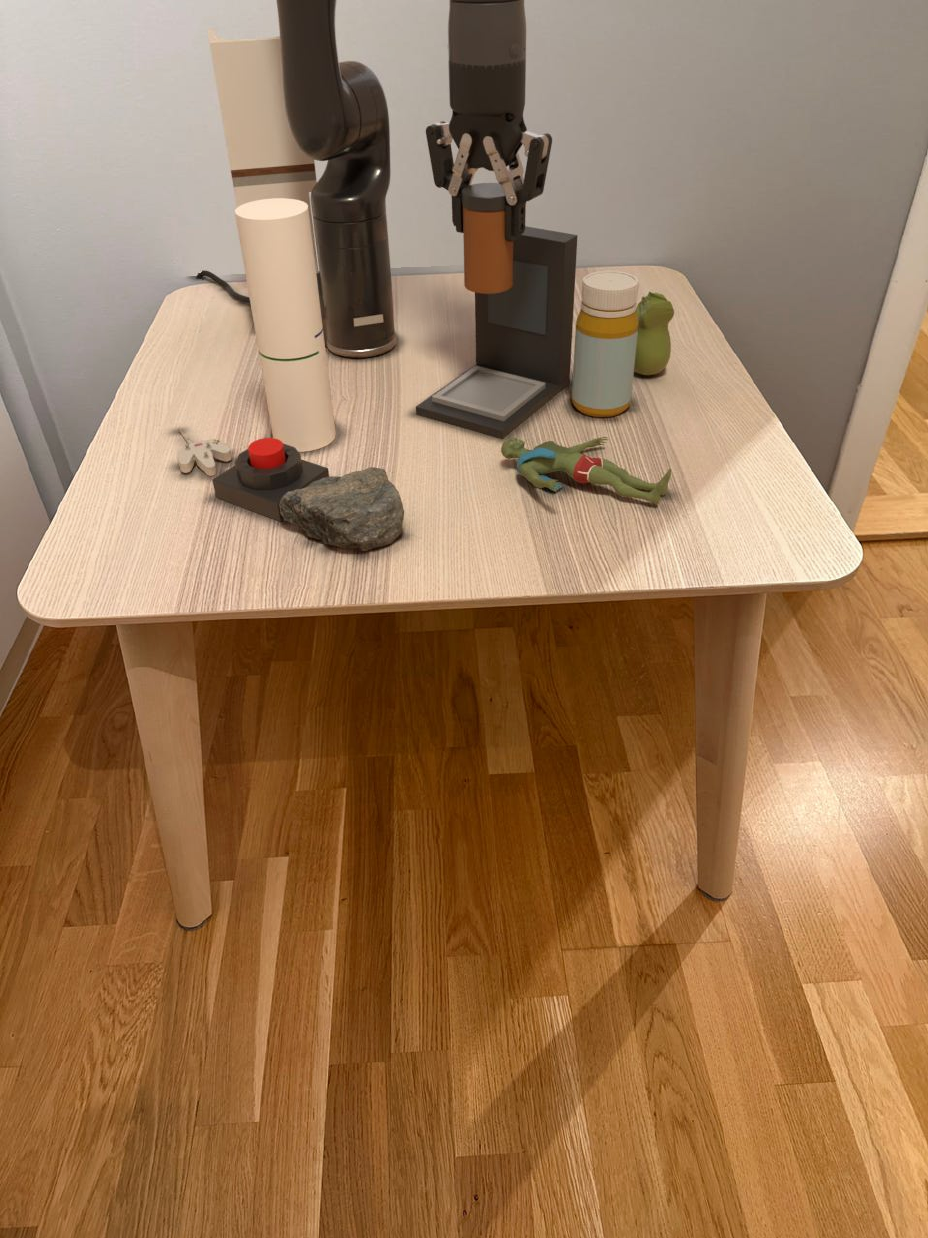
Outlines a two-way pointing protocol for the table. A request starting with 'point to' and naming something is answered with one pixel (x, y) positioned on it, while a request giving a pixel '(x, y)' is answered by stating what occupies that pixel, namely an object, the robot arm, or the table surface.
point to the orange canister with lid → (486, 239)
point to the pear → (653, 334)
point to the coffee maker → (517, 341)
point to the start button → (266, 453)
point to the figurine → (578, 468)
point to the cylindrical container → (287, 320)
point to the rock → (348, 509)
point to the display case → (259, 123)
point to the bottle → (605, 343)
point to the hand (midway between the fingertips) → (488, 234)
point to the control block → (266, 482)
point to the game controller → (202, 455)
